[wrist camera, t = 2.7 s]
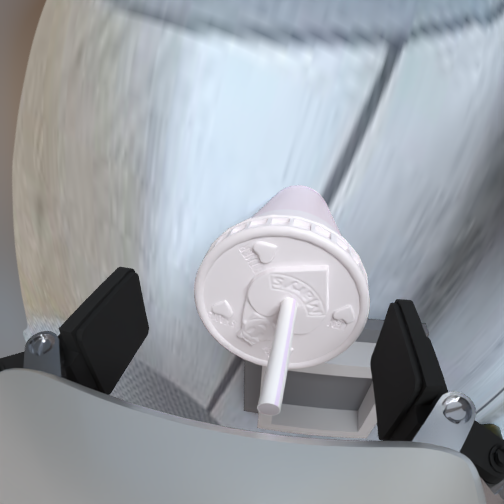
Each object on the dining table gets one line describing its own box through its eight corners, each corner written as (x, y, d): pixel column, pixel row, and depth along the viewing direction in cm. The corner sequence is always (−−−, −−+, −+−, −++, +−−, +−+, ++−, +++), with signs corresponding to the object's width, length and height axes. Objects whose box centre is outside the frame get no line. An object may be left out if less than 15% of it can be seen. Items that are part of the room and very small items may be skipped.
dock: (425, 323, 21) (436, 357, 17) (377, 415, 27) (379, 444, 23) (248, 304, 23) (236, 337, 20) (246, 401, 29) (238, 430, 26)
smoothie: (370, 211, 18) (436, 411, 6) (303, 276, 21) (271, 477, 9) (291, 141, 17) (215, 250, 5) (228, 218, 20) (108, 389, 8)
